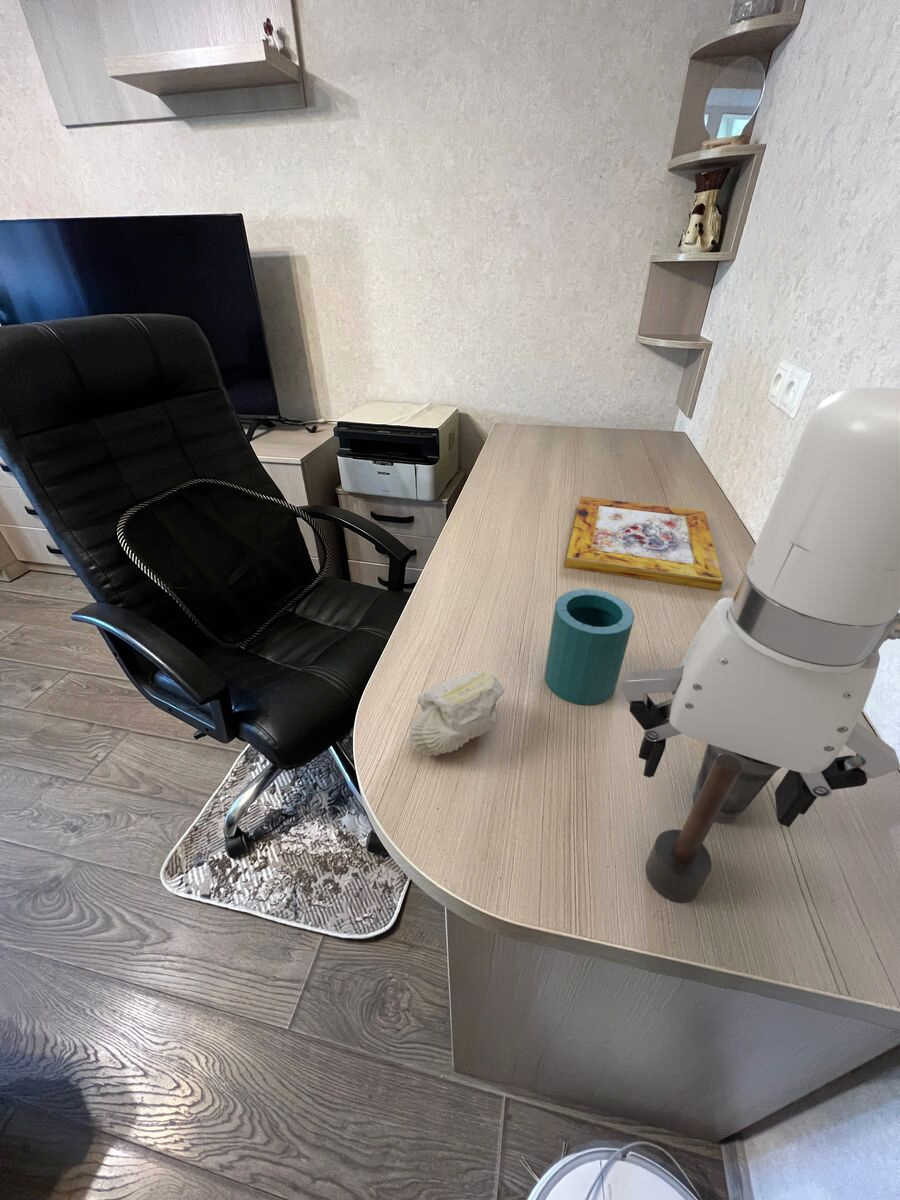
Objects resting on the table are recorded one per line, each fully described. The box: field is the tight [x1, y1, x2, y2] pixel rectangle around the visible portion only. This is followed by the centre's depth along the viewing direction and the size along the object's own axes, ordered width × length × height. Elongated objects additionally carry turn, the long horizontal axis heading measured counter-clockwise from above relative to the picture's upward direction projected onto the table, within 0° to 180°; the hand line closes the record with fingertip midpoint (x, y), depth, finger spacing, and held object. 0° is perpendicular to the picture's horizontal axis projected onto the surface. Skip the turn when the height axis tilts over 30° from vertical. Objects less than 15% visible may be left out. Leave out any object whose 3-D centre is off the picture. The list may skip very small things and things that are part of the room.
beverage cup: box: [692, 743, 782, 825], centre depth 48 cm, size 7×7×20 cm
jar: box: [544, 588, 635, 706], centre depth 66 cm, size 10×10×12 cm
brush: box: [645, 754, 742, 904], centre depth 43 cm, size 5×5×17 cm
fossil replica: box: [409, 671, 505, 757], centre depth 59 cm, size 12×8×10 cm
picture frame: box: [564, 496, 724, 592], centre depth 103 cm, size 27×2×30 cm
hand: (712, 785), depth 40 cm, fingers open, 9 cm apart
